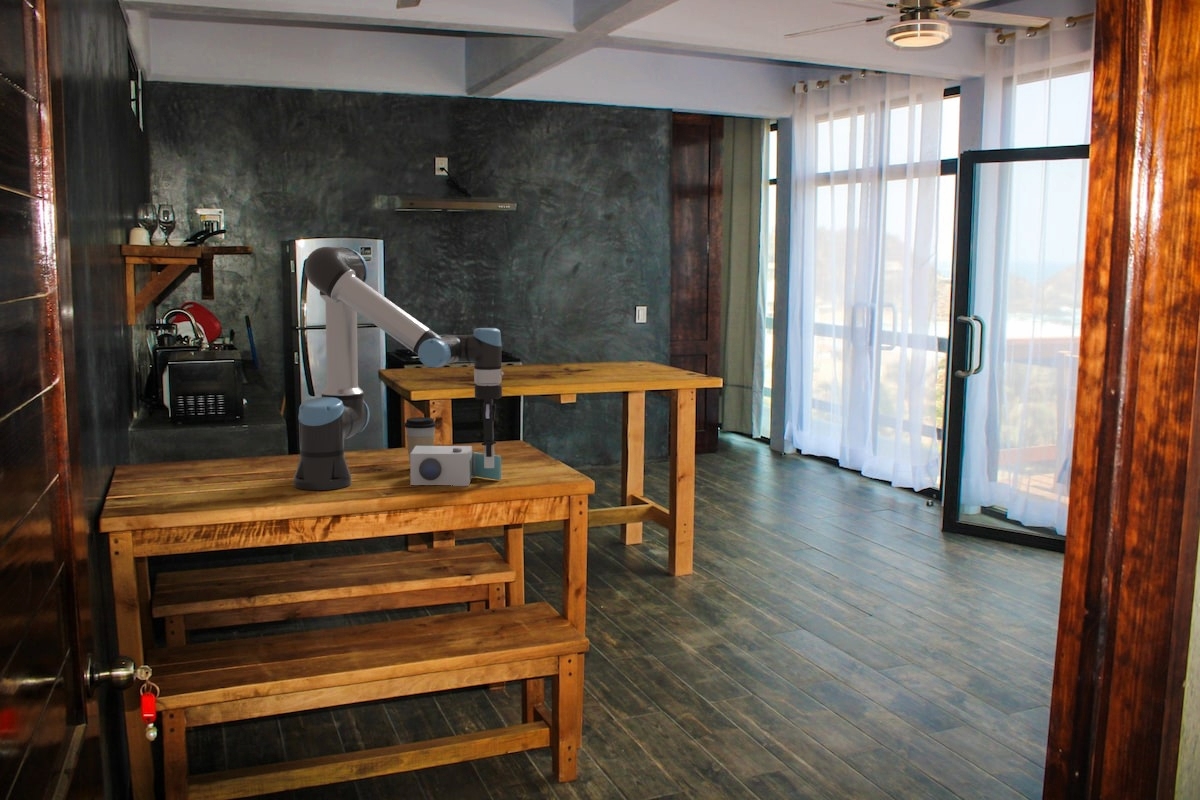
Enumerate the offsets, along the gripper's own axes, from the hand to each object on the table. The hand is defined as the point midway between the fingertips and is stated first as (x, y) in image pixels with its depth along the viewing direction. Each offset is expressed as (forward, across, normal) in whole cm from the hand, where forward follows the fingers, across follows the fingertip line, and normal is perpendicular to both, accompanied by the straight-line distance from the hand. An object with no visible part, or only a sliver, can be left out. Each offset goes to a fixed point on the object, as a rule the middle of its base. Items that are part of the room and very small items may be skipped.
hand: (489, 467), depth 276 cm
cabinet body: (+4, +2, +13) cm, 14 cm away
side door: (+4, +5, +1) cm, 6 cm away
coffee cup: (+4, +19, +21) cm, 29 cm away
